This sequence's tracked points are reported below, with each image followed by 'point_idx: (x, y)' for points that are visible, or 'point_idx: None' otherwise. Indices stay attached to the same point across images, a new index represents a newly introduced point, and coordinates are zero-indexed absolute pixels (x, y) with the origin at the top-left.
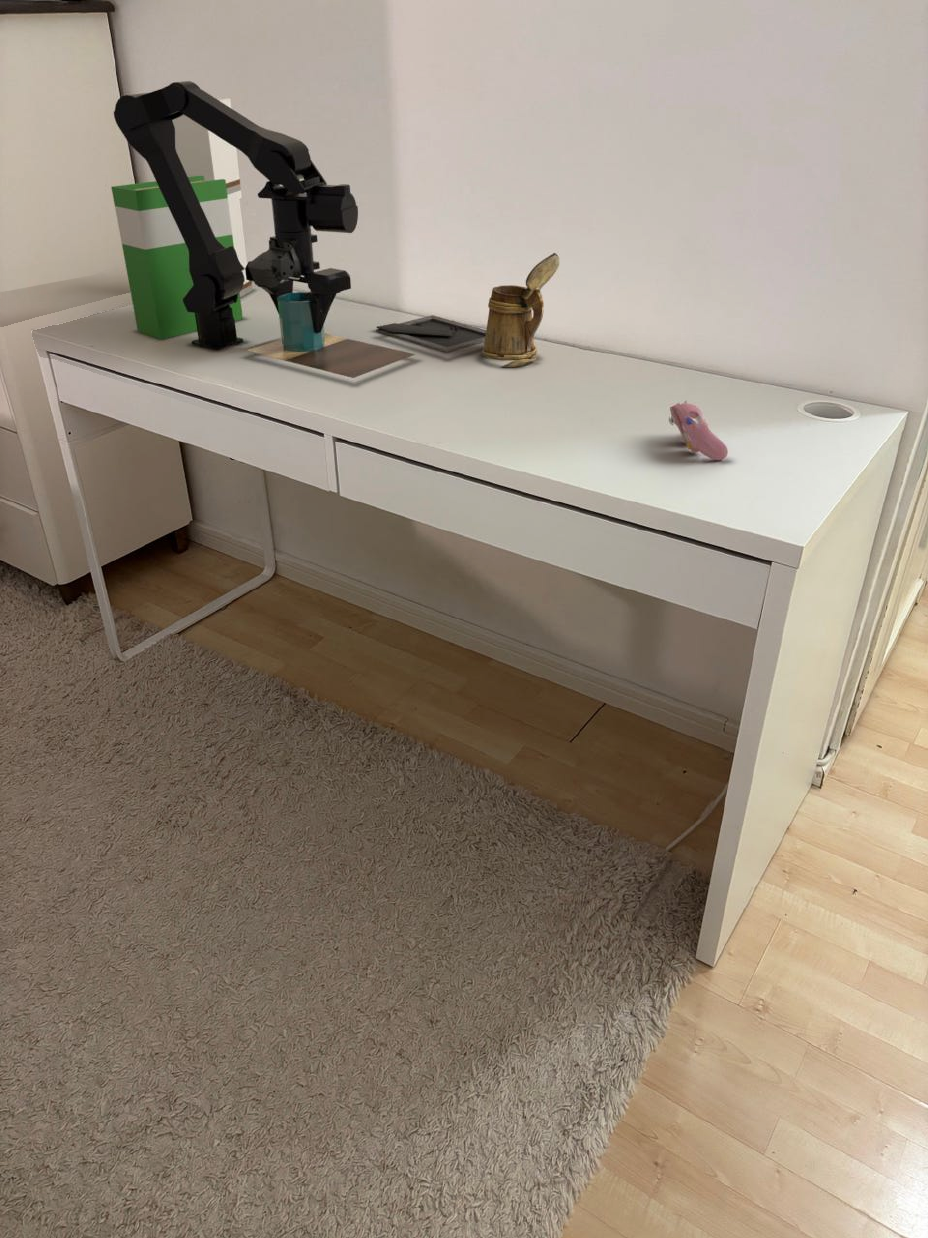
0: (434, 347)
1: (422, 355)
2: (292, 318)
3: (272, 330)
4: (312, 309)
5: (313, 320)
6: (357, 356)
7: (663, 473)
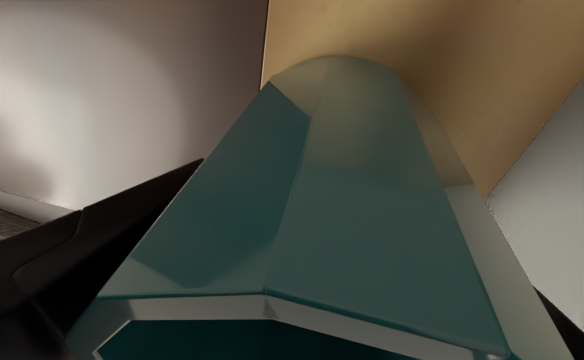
0: (1, 233)
1: (47, 217)
2: (281, 139)
3: (567, 306)
4: (74, 245)
5: (161, 192)
6: (61, 107)
7: None
